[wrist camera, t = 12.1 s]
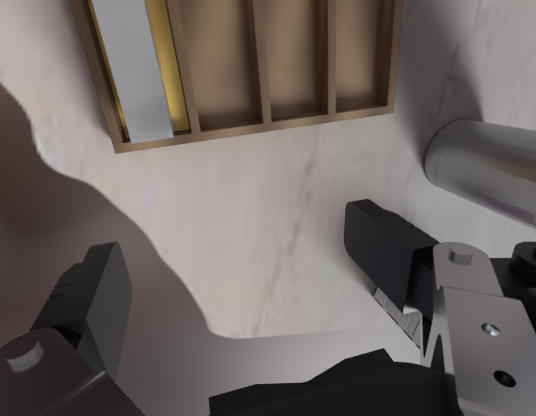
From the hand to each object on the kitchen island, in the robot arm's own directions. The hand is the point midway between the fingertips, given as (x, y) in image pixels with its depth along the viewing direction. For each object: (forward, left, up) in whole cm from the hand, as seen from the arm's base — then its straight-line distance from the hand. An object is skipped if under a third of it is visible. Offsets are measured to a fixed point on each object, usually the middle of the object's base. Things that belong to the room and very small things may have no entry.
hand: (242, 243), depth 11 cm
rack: (-7, -6, -23) cm, 25 cm away
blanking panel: (+3, -6, -22) cm, 23 cm away
